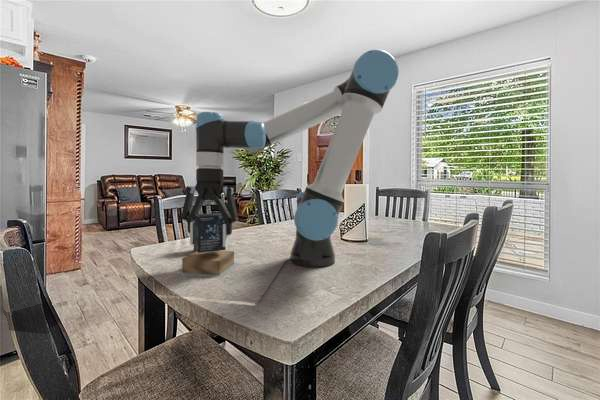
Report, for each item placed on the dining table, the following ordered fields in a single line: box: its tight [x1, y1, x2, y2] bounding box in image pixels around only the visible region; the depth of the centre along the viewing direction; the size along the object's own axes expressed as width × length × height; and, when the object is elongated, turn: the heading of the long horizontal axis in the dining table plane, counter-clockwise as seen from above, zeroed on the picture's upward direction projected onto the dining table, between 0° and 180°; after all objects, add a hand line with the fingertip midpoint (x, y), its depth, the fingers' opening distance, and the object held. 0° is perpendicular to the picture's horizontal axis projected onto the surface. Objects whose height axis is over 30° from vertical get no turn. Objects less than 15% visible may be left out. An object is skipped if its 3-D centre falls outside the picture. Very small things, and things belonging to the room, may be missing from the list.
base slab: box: [181, 250, 235, 275], centre depth 87 cm, size 11×11×4 cm
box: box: [193, 212, 226, 253], centre depth 87 cm, size 8×6×11 cm
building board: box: [174, 262, 241, 278], centre depth 88 cm, size 14×14×1 cm
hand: (209, 244), depth 87 cm, fingers closed on box, 9 cm apart
